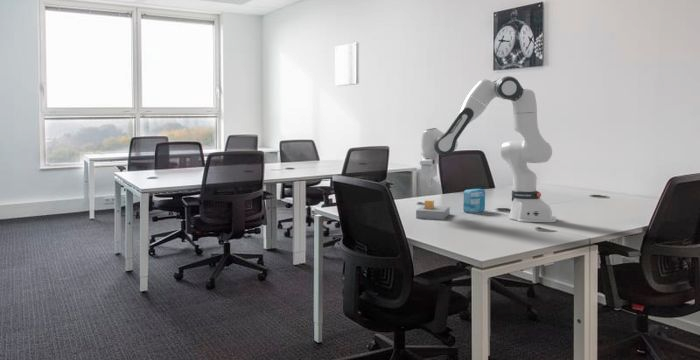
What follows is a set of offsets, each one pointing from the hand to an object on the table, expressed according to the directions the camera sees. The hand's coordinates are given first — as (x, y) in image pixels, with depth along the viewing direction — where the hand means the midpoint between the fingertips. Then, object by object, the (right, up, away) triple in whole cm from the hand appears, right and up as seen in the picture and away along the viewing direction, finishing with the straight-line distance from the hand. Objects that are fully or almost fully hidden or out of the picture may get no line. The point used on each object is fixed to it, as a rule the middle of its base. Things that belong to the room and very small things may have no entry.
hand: (429, 186), depth 270 cm
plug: (0, -15, +2) cm, 15 cm away
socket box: (+2, -15, +1) cm, 15 cm away
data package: (+26, -14, +13) cm, 32 cm away
